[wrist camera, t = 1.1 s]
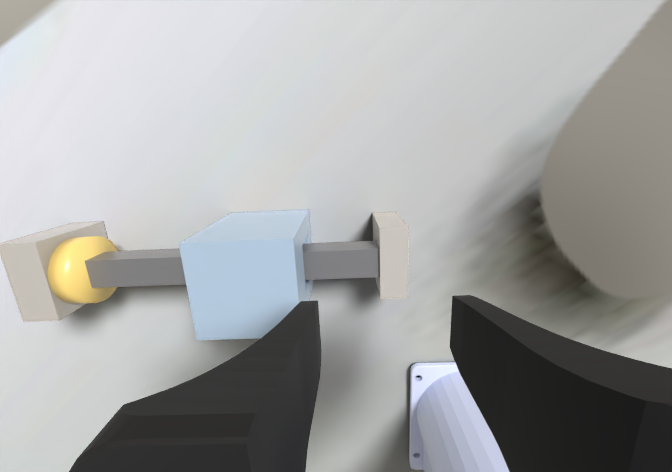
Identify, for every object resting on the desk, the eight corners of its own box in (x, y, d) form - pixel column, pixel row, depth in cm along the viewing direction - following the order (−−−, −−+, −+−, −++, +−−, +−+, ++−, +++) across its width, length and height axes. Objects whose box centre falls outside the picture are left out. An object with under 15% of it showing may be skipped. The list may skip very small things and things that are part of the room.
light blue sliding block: (309, 209, 20) (293, 238, 14) (314, 279, 22) (301, 337, 15) (231, 212, 20) (178, 243, 14) (240, 282, 22) (196, 340, 15)
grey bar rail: (396, 208, 20) (412, 227, 15) (396, 273, 21) (411, 309, 17) (72, 222, 21) (-8, 244, 16) (88, 285, 22) (19, 322, 17)
